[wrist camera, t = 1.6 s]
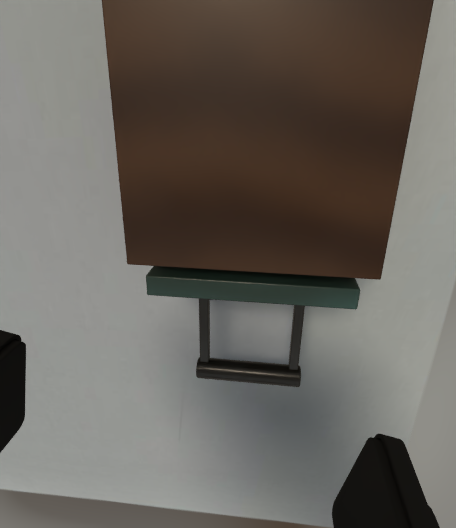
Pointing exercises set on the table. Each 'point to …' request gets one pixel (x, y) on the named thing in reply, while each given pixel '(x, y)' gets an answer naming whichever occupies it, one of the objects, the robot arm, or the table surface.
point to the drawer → (252, 290)
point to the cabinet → (262, 129)
